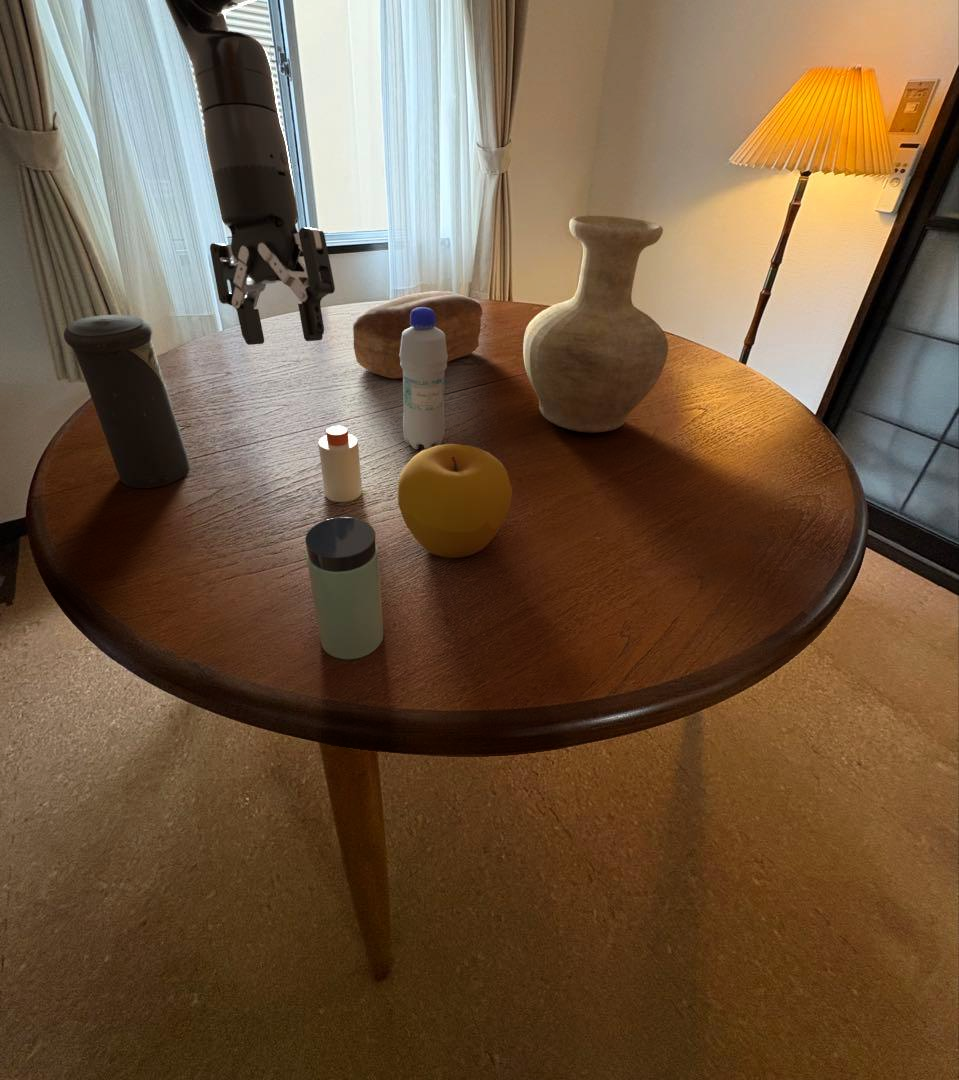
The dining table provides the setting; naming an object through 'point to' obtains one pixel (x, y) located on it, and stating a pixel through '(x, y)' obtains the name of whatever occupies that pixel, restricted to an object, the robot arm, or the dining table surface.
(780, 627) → the dining table surface
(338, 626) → the celadon jar
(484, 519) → the apple
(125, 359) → the container
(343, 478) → the cream bottle
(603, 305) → the vase
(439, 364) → the bottle
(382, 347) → the bread
